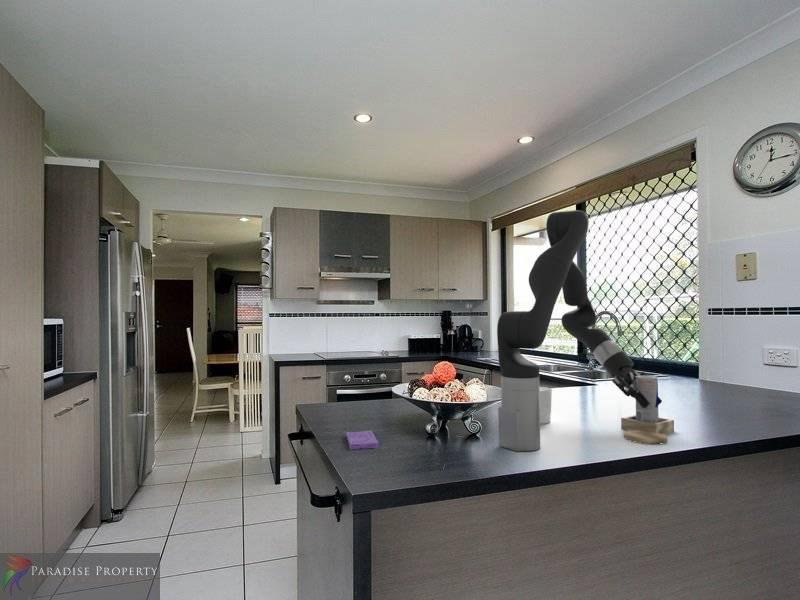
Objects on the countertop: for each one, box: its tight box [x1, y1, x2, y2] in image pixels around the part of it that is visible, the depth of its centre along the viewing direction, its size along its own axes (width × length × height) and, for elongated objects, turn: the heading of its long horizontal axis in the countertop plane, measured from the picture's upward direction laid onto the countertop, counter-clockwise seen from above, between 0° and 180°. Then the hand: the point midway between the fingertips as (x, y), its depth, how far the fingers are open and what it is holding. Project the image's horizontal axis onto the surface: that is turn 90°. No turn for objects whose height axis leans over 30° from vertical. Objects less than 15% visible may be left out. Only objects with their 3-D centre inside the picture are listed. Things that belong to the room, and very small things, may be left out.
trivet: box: [623, 430, 668, 445], centre depth 122 cm, size 10×10×1 cm
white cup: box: [539, 386, 553, 425], centre depth 143 cm, size 8×8×10 cm
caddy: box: [620, 414, 675, 435], centre depth 131 cm, size 10×10×3 cm
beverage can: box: [635, 375, 660, 424], centre depth 132 cm, size 6×6×15 cm
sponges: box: [345, 430, 379, 450], centre depth 120 cm, size 7×13×2 cm, turn 12°
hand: (653, 404), depth 130 cm, fingers closed on beverage can, 5 cm apart
